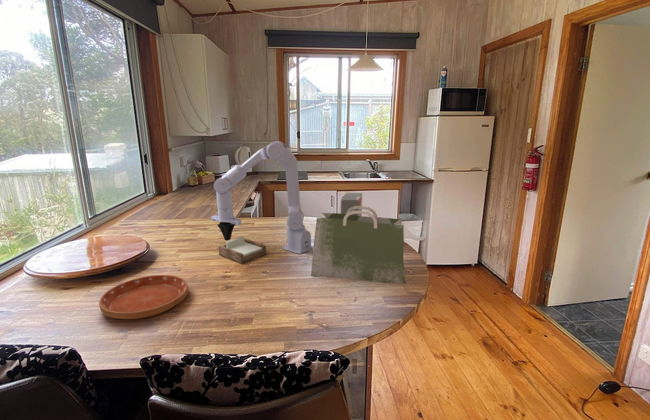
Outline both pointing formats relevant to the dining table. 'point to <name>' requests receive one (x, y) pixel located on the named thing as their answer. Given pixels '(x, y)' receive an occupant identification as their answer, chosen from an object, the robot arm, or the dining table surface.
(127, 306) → the saucer
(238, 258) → the groove box
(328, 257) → the grocery bag
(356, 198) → the hard drive box
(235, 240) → the cover plate
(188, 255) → the dining table surface
